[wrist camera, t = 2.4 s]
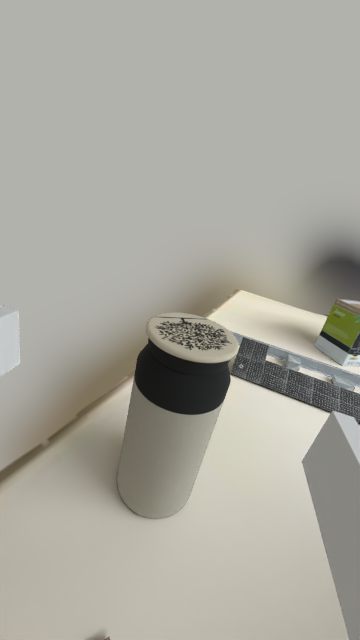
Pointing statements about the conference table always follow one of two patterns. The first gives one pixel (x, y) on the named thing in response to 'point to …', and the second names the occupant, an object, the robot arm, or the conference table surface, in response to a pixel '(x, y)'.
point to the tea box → (342, 333)
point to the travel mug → (173, 411)
